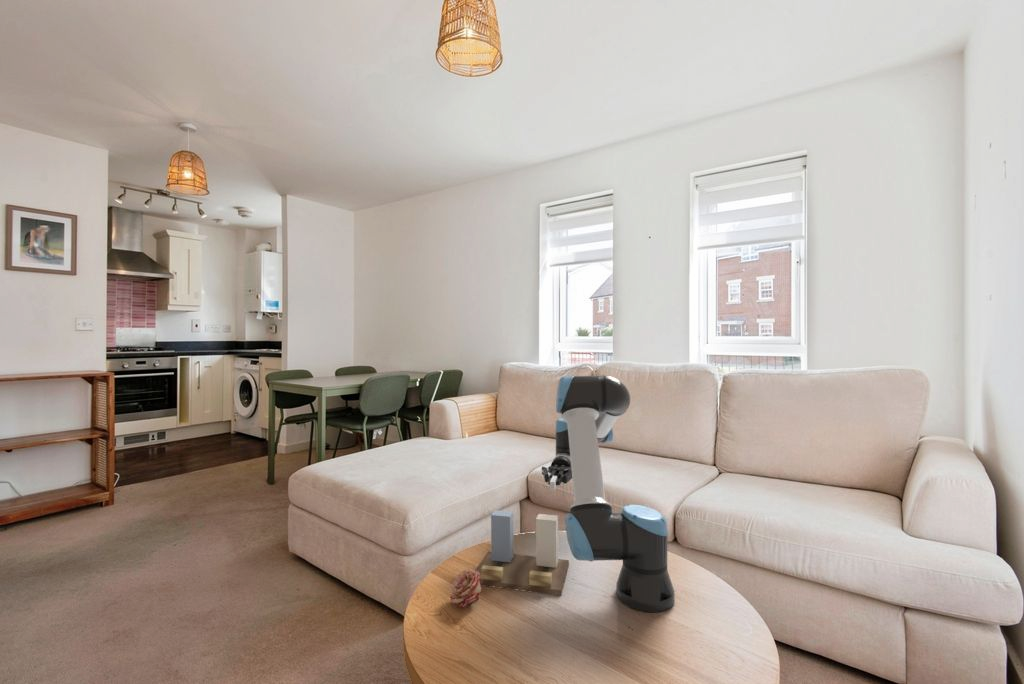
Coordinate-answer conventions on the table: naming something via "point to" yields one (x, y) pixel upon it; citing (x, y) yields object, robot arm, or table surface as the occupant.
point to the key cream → (547, 540)
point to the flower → (466, 587)
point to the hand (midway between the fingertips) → (552, 486)
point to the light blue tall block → (502, 536)
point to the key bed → (523, 574)
